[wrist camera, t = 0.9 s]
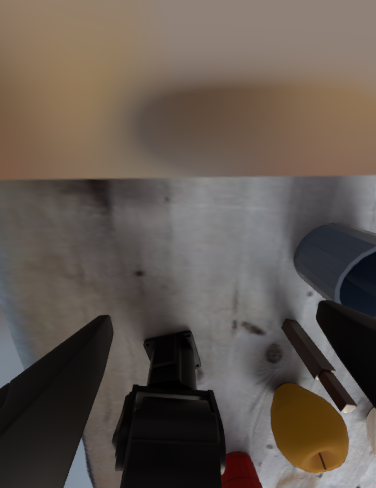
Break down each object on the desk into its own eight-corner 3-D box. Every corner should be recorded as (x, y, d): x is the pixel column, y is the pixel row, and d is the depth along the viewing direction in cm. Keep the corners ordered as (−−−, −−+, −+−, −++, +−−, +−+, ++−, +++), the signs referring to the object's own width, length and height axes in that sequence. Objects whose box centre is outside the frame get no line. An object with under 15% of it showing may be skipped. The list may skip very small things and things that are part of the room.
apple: (325, 369, 29) (383, 448, 21) (305, 408, 32) (349, 492, 24) (267, 365, 29) (303, 445, 20) (252, 406, 32) (278, 491, 23)
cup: (358, 276, 24) (419, 311, 18) (295, 290, 24) (334, 329, 18) (363, 215, 21) (435, 232, 15) (292, 232, 22) (335, 255, 16)
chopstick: (297, 320, 26) (362, 404, 17) (291, 330, 27) (352, 416, 17) (286, 318, 26) (345, 401, 16) (281, 327, 26) (336, 413, 17)
